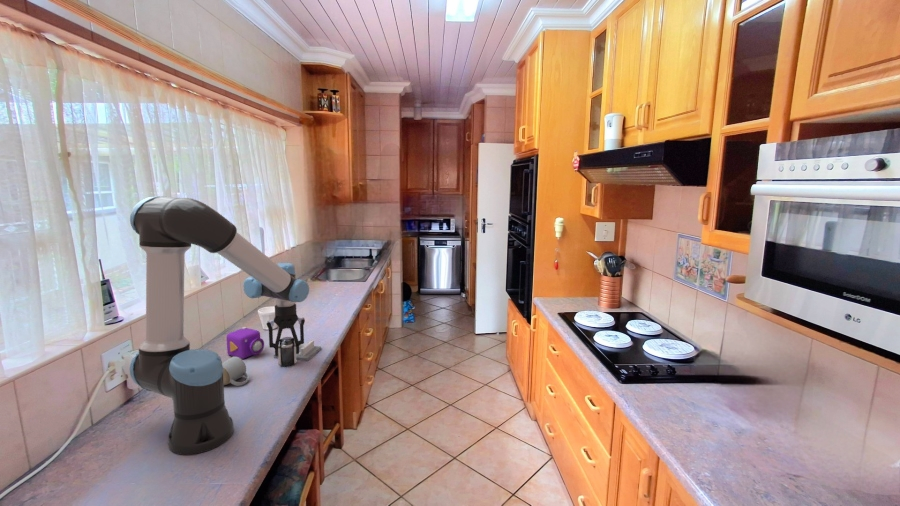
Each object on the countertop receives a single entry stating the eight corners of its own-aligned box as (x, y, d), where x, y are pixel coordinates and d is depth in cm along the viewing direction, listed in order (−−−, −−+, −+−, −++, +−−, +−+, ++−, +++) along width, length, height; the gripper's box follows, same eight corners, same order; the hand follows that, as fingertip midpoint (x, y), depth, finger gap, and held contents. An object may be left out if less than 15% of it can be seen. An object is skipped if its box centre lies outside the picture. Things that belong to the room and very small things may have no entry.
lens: (290, 367, 153) (289, 341, 151) (277, 366, 154) (276, 340, 152) (297, 361, 158) (296, 336, 156) (285, 360, 159) (284, 335, 157)
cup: (281, 330, 190) (280, 311, 189) (257, 332, 186) (257, 313, 185) (281, 323, 199) (281, 305, 198) (259, 325, 196) (258, 307, 194)
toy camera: (253, 362, 157) (252, 337, 155) (223, 358, 160) (221, 333, 158) (271, 351, 167) (270, 328, 166) (242, 347, 170) (240, 324, 168)
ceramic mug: (211, 385, 139) (210, 364, 137) (229, 374, 146) (228, 354, 145) (237, 390, 136) (236, 369, 135) (254, 379, 144) (253, 359, 143)
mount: (307, 361, 159) (307, 351, 158) (274, 358, 161) (273, 348, 160) (321, 349, 171) (320, 339, 170) (289, 346, 173) (289, 337, 172)
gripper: (258, 309, 145) (261, 370, 149) (311, 305, 152) (312, 363, 156) (259, 303, 152) (262, 361, 156) (310, 299, 159) (311, 355, 163)
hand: (287, 362), depth 156 cm, fingers closed on lens, 5 cm apart
